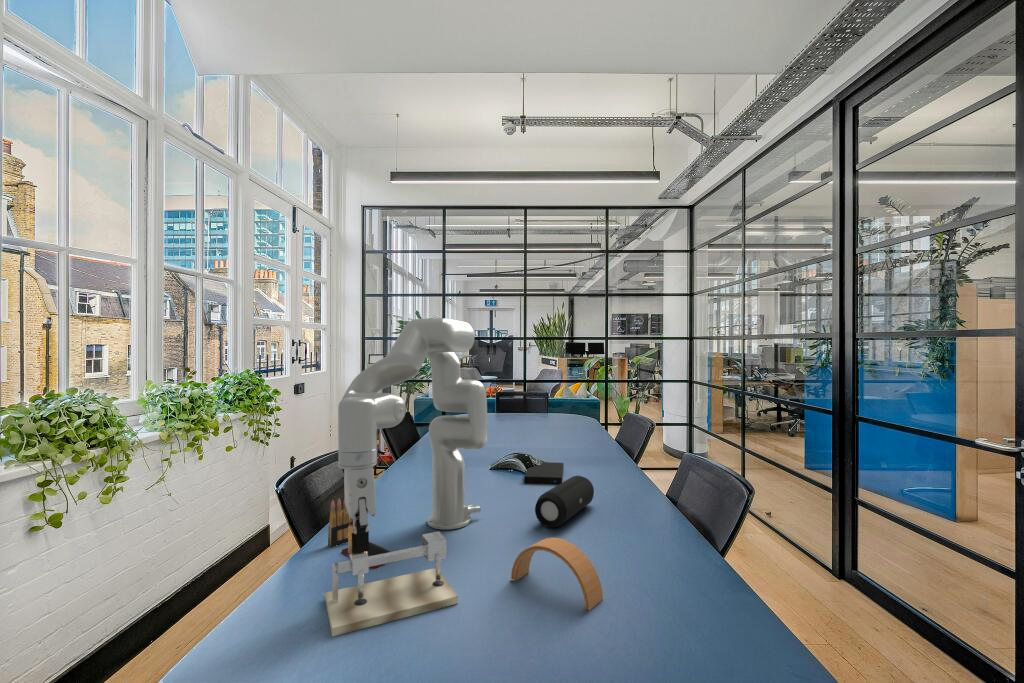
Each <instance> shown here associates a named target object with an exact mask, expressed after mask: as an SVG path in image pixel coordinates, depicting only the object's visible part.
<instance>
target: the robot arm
mask: <svg viewBox="0 0 1024 683" xmlns="http://www.w3.org/2000/svg"><path fill="white" fill-rule="evenodd" d="M474 343H475V331H474V329H473V327H472V325H471V324H470V323H468V322H467V321H463V320H458V319H452V318H446V317H445V318H444V317H433V318H432V317H431V318H415V319H411V320H409V321H408V322H407V323H406V324H405V325H404V326H403V328H402V329H401V331H400V333H399V335H398V337H397V338H396V340H395V342H394V344H393V345H392V347H391V348H390V350H389V351H388V354H386V356H385V357H383V358H381V359H379V360H378V361H376V362H374V363H373V364H372V365H370V366H368V367H367V368H365V369H364V370H362V371H361V372H359V373H358V374H357V376H356V377H354V379H352V381H351V383H350V384H349V386H348V387H347V389H346V391H345V393H344V395H343V396H342V399H341V400H340V401H339V402H338V406H337V407H338V409H337V410H338V412H337V413H338V414H337V417H338V418H337V420H338V422H337V426H338V427H337V428H338V429H337V430H338V431H337V432H338V435H337V437H338V438H337V440H338V444H337V445H338V454H337V455H338V456H337V458H338V459H337V460H338V462H337V463H338V468H339V469H343V471H344V472H343V474H344V475H343V477H344V480H343V482H344V483H343V485H344V488H343V489H344V498H345V506H346V509H347V512H348V514H349V524H353V533H352V553H353V554H356V553H361V552H366V551H368V550H369V542H370V541H369V540H370V536H369V533H370V531H368V524H369V515H370V516H372V517H374V516H376V514H377V510H376V487H375V486H376V485H375V483H376V482H375V474H374V473H375V472H374V466H376V465H377V464H378V443H377V442H378V441H377V440H378V433H377V432H378V431H377V430H378V429H388V428H393V427H397V425H399V424H400V423H402V421H403V420H404V418H405V416H406V413H407V409H406V408H407V407H406V403H405V401H404V399H403V398H402V397H401V396H399V395H398V394H395V393H391V392H381V391H382V390H384V389H385V388H389V387H391V386H395V385H398V384H401V383H403V382H406V381H409V380H411V379H412V378H415V377H416V376H417V375H418V374H419V372H420V370H421V369H422V366H423V364H424V362H425V360H426V358H427V359H428V361H429V364H430V369H431V370H430V371H431V390H432V393H431V394H432V402H433V406H434V408H435V409H436V410H437V411H441V412H445V413H447V412H450V413H467V415H466V416H465V415H450V414H449V415H439V416H436V417H434V419H432V420H431V422H430V423H429V425H428V436H429V438H428V439H429V442H430V443H429V444H430V447H431V459H432V460H431V461H432V462H431V463H432V514H431V515H430V516H429V517H428V518H427V525H428V526H429V527H430V528H433V529H436V530H440V531H441V530H443V531H445V530H446V531H450V530H456V529H457V530H458V529H461V528H463V527H466V526H467V525H468V524H470V523H471V516H470V515H472V514H477V513H480V512H481V506H480V505H474V504H469V505H467V504H466V502H465V501H466V497H465V496H466V490H465V488H466V486H465V485H466V483H465V482H466V480H465V479H466V478H465V470H466V465H465V464H466V463H465V460H464V457H463V455H462V453H461V451H460V450H480V449H484V447H485V445H486V444H487V442H488V433H489V432H488V431H489V429H488V425H489V424H488V399H487V392H486V391H487V390H486V388H485V386H484V384H483V382H481V381H480V380H476V379H462V374H461V363H460V360H459V358H458V355H457V354H456V353H467V352H469V351H470V350H471V349H472V348H473V346H474ZM368 514H369V515H368ZM356 523H357V524H356ZM348 526H349V525H348Z"/></svg>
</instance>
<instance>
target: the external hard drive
mask: <svg viewBox="0 0 1024 683" xmlns="http://www.w3.org/2000/svg"><path fill="white" fill-rule="evenodd" d="M564 466H565V465H564V462H552V461H551V462H548V461H546V462H543V461H542V464H541V465H537V466H534V467H530V468H527V470H526V473H525V475H524V478H523V480H524V481H523V482H524V484H527V485H528V484H529V485H530V484H531V485H532V484H533V485H555V486H557V485H559V484H561V483H562V482H563V479H564V478H563V476H564Z"/></svg>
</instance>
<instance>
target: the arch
mask: <svg viewBox="0 0 1024 683" xmlns="http://www.w3.org/2000/svg"><path fill="white" fill-rule="evenodd" d="M536 551H542V552H543V551H544V552H548V553H550V554H552V555H554V556H556V557H557V558H559V559H560V560H561V561H563V563H564V564H566V566H568V568H569V569H570V570H571V572H572V573H573V575H574V576H575V578H576V579H577V581H578V584H579V586H580V589H581V592H582V595H583V599H584V609H585V610H587V611H589V612H590V611H591V610H592V609H593V608H594V607H595V606H596V605H598V604H599V603H600V602H601V601H603V600H604V595H603V593H604V592H603V588H602V583H601V581H600V577H599V575H598V573H597V570H596V569H595V567H594V565H593V563H592V562H591V561H590V559H589V557H588V556H587V555H586V554H585V553H584V551H582V550H581V549H580V548H579V547H578V546H576V545H575V544H573V543H572V542H570V541H568V540H566V539H563V538H559V537H547V538H544V539H542V540H539V541H537V542H536V543H534V544H531V545H530V546H528V547H526V548H525V549H523V550H522V551H521V552H520V553H519V554H518V556H517V557H516V558H515V560H514V562H513V565H512V568H511V574H510V580H511V579H513V580H516V579H518V578H519V579H521V578H522V577H521V576H523V575H524V576H526V575H527V573H528V572H529V573H530V566H531V565H530V564H531V562H532V561H531V560H532V557H533V556H534V554H535V553H536ZM525 574H526V575H525ZM524 576H523V577H524ZM520 577H521V578H520ZM519 579H518V580H519ZM513 580H512V581H513ZM516 581H517V580H516Z"/></svg>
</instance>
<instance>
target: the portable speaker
mask: <svg viewBox="0 0 1024 683" xmlns="http://www.w3.org/2000/svg"><path fill="white" fill-rule="evenodd" d="M594 493H595V489H594V485H593V483H592V482H591V480H590V479H588V478H587V477H585V476H582V475H574V476H571V477H569V478H568V479H566V480H565V481H562V483H561V484H559V485H555V486H553V487H552V488H551V489H548V491H545V492H544V493H542V494H541V495H539V496H538V499H537V500H536V503H535V506H534V513H535V514H534V515H535V517H536V518H537V521H538V522H539V523H540V524H542V526H545V527H548V528H558V527H560V526H562V525H563V524H564V523H565V522H567V521H568V520H570V519H571V518H572V517H573V516H575V515H576V514H577V513H579V512H580V511H582V510H583V509H584V508H586V507H587V506H588V505H590V504H591V502H592V500H593V499H594Z"/></svg>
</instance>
